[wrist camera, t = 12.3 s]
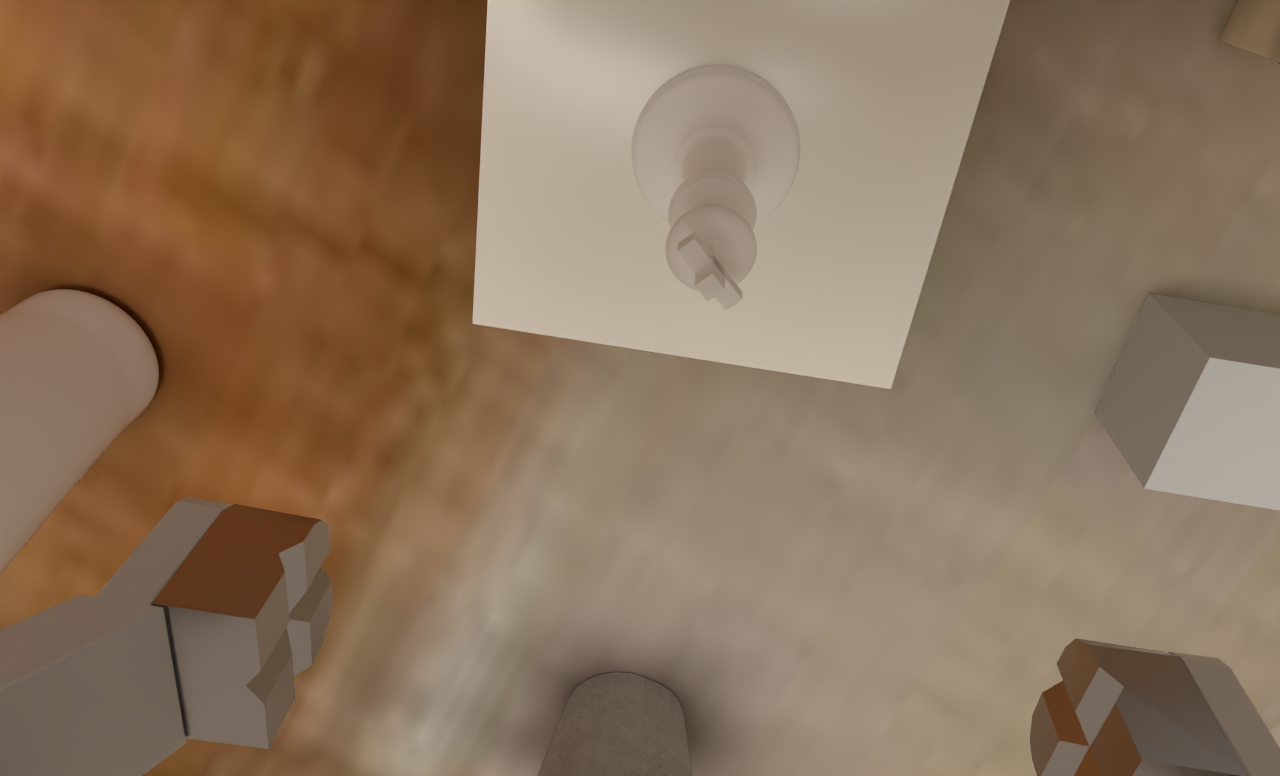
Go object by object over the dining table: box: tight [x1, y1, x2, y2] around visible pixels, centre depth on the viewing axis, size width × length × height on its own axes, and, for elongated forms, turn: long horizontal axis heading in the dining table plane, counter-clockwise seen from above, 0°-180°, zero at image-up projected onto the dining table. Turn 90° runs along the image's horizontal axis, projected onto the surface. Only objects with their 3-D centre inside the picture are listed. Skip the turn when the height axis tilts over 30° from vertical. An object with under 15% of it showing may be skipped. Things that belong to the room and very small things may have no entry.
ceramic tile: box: [473, 0, 1010, 389], centre depth 28 cm, size 14×14×1 cm
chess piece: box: [632, 66, 800, 311], centre depth 23 cm, size 5×5×10 cm
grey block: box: [1095, 293, 1280, 510], centre depth 29 cm, size 4×4×4 cm
